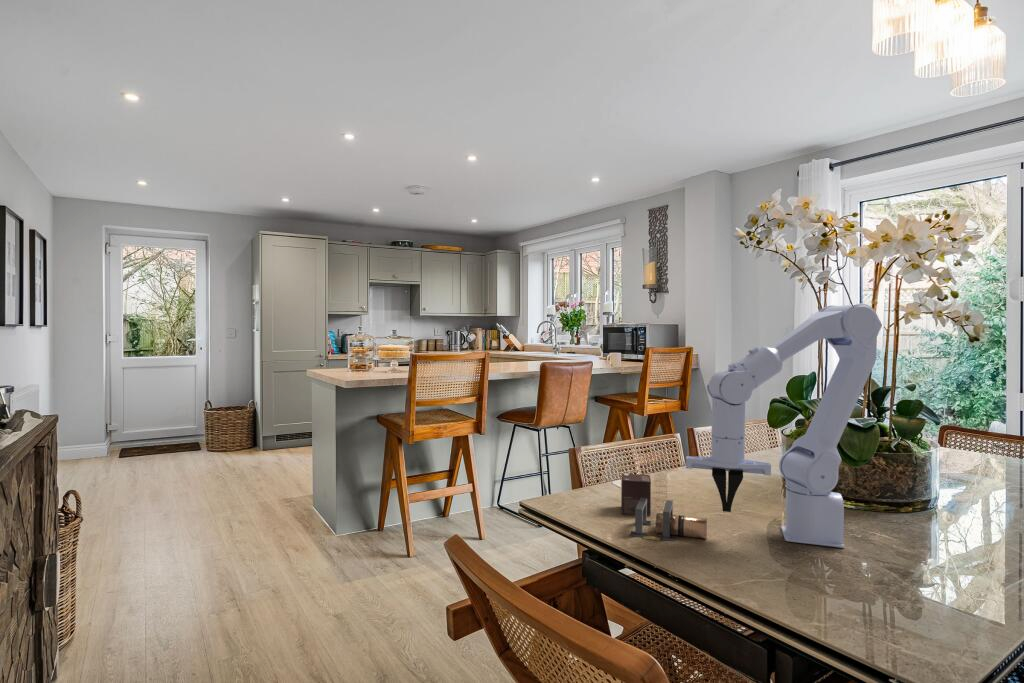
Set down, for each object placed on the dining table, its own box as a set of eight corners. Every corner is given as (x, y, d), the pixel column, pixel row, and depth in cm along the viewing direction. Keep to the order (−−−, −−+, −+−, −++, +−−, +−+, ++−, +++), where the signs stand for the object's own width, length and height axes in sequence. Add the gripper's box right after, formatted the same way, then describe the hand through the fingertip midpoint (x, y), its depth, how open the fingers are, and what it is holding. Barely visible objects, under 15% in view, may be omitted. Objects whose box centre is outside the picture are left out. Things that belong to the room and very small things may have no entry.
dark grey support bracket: (677, 525, 115) (677, 500, 115) (674, 541, 106) (674, 513, 106) (662, 523, 116) (662, 498, 116) (657, 539, 107) (657, 511, 107)
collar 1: (651, 522, 116) (651, 497, 116) (646, 537, 108) (646, 510, 108) (636, 520, 117) (636, 496, 117) (629, 535, 109) (630, 509, 109)
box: (650, 517, 120) (651, 481, 120) (621, 515, 121) (621, 479, 121) (649, 508, 126) (650, 474, 126) (621, 506, 127) (621, 473, 127)
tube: (706, 528, 110) (706, 513, 108) (706, 543, 107) (706, 528, 105) (657, 523, 113) (657, 508, 112) (656, 537, 110) (655, 522, 108)
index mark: (660, 539, 107) (660, 537, 107) (659, 540, 106) (659, 539, 106) (643, 537, 108) (643, 535, 108) (643, 538, 107) (643, 536, 107)
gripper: (769, 435, 108) (767, 508, 109) (687, 430, 113) (686, 500, 114) (772, 442, 102) (771, 519, 102) (685, 436, 107) (684, 510, 107)
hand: (726, 510), depth 107 cm, fingers closed
